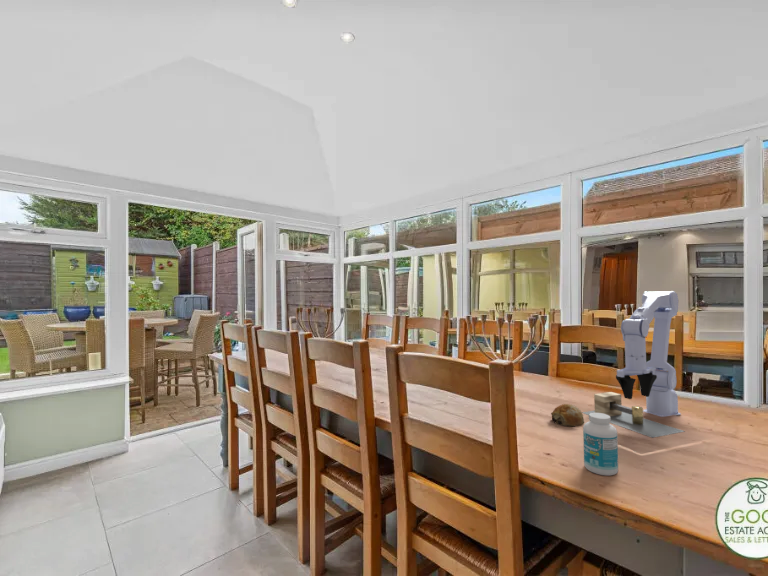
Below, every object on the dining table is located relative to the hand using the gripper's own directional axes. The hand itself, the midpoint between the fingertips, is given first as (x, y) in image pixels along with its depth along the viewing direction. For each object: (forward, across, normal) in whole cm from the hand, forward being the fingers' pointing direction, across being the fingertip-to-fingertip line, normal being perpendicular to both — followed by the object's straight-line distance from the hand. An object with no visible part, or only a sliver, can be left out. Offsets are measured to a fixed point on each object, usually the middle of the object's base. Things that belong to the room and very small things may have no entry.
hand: (636, 397), depth 125 cm
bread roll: (+10, -18, +11) cm, 23 cm away
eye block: (+9, 0, +11) cm, 14 cm away
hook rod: (+8, 0, +7) cm, 11 cm away
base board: (+9, 0, +3) cm, 10 cm away
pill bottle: (+10, -37, -19) cm, 43 cm away
